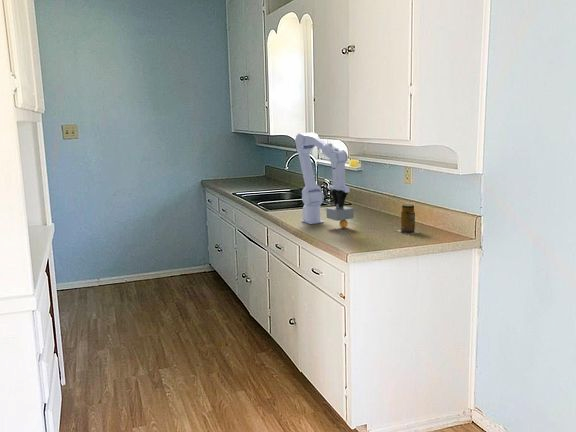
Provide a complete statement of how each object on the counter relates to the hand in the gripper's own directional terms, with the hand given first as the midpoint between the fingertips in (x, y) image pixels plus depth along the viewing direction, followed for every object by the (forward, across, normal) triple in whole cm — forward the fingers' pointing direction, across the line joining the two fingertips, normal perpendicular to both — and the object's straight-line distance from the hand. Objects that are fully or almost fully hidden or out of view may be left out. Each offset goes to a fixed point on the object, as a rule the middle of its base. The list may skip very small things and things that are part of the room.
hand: (339, 206), depth 263 cm
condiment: (+11, -25, -20) cm, 34 cm away
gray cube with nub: (+6, 0, 0) cm, 6 cm away
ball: (+8, 0, -2) cm, 9 cm away
